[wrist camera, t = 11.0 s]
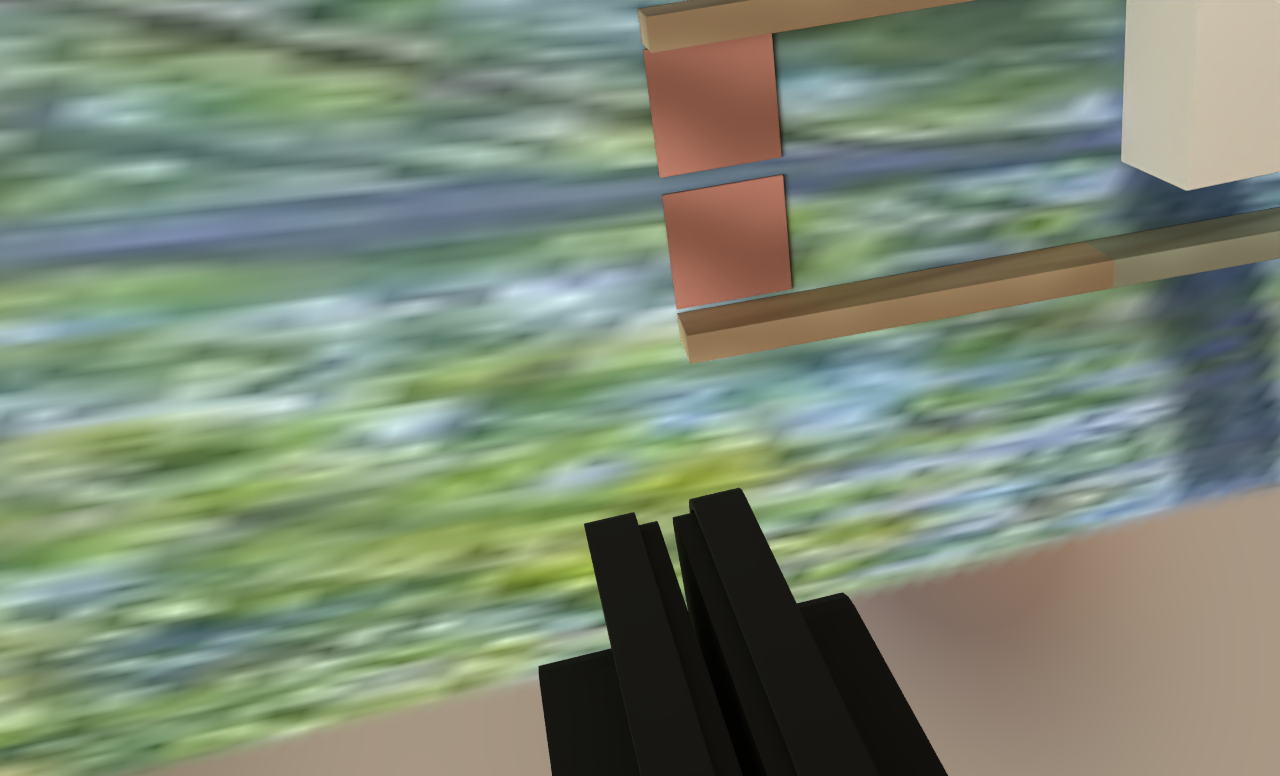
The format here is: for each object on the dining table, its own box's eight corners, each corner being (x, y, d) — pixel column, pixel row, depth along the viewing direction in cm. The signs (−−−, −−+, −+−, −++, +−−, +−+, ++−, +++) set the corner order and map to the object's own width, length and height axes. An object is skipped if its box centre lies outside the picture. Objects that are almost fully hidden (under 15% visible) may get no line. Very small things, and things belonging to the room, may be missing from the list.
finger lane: (637, 9, 33) (648, 19, 31) (1360, -107, 34) (1422, -105, 32) (680, 340, 38) (693, 369, 35) (1311, 227, 39) (1362, 249, 37)
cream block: (1124, -25, 34) (1199, -13, 31) (1304, -61, 35) (1399, -53, 31) (1118, 159, 37) (1186, 190, 34) (1285, 125, 37) (1371, 152, 34)
